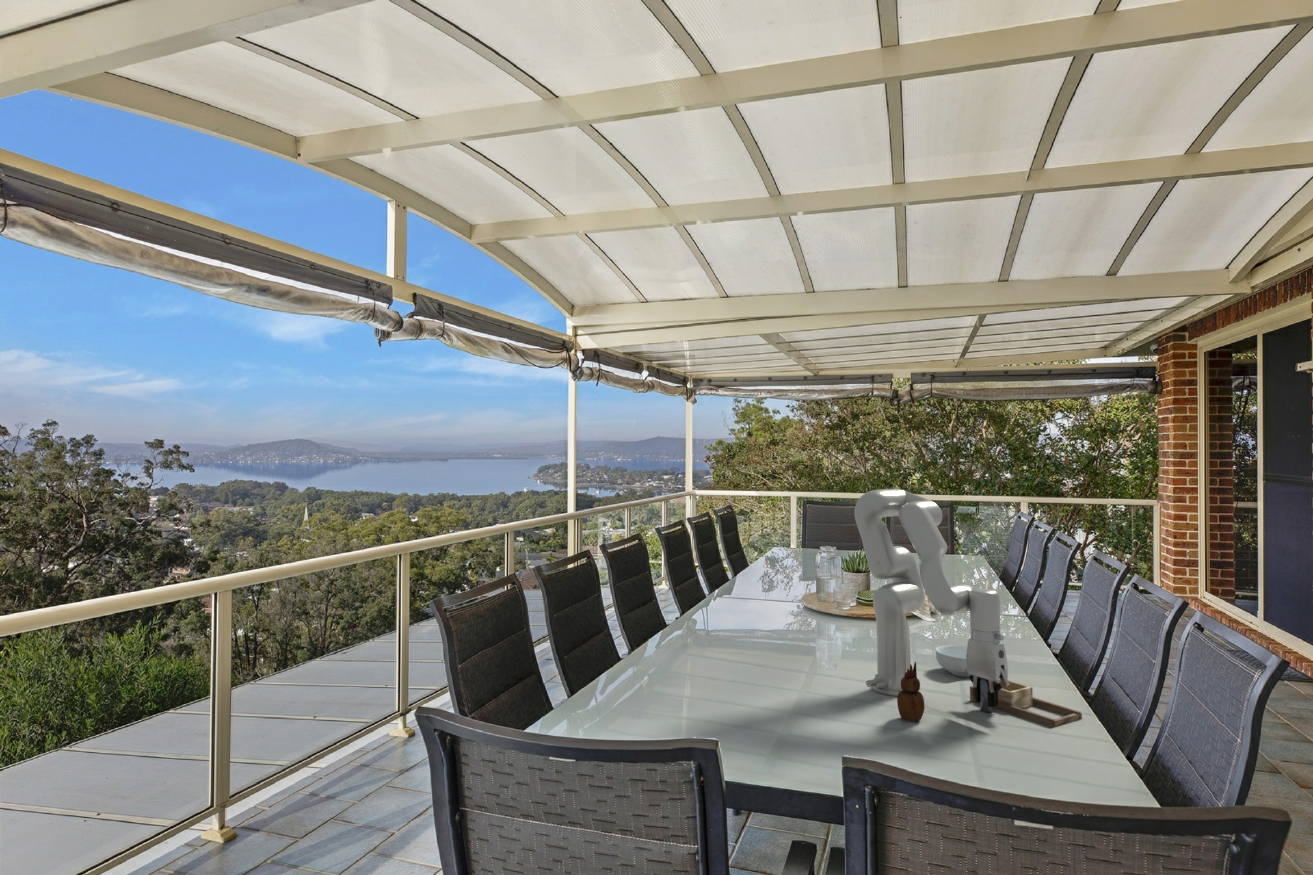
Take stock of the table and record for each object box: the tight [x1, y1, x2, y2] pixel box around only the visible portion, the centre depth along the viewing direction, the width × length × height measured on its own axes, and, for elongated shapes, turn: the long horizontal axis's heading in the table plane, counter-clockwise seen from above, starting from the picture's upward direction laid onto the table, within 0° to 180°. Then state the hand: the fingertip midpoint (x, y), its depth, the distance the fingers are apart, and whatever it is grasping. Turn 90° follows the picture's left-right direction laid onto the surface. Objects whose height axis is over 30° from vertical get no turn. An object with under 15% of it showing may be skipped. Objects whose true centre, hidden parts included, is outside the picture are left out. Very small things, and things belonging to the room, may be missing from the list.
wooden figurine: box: [896, 661, 925, 722], centre depth 196 cm, size 7×6×15 cm
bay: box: [969, 685, 1083, 728], centre depth 200 cm, size 13×24×5 cm, turn 29°
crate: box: [994, 679, 1034, 709], centre depth 205 cm, size 9×10×5 cm
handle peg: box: [979, 678, 994, 714], centre depth 198 cm, size 3×3×10 cm
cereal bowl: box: [935, 645, 969, 678], centre depth 237 cm, size 17×17×7 cm
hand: (986, 703), depth 198 cm, fingers closed on handle peg, 3 cm apart
